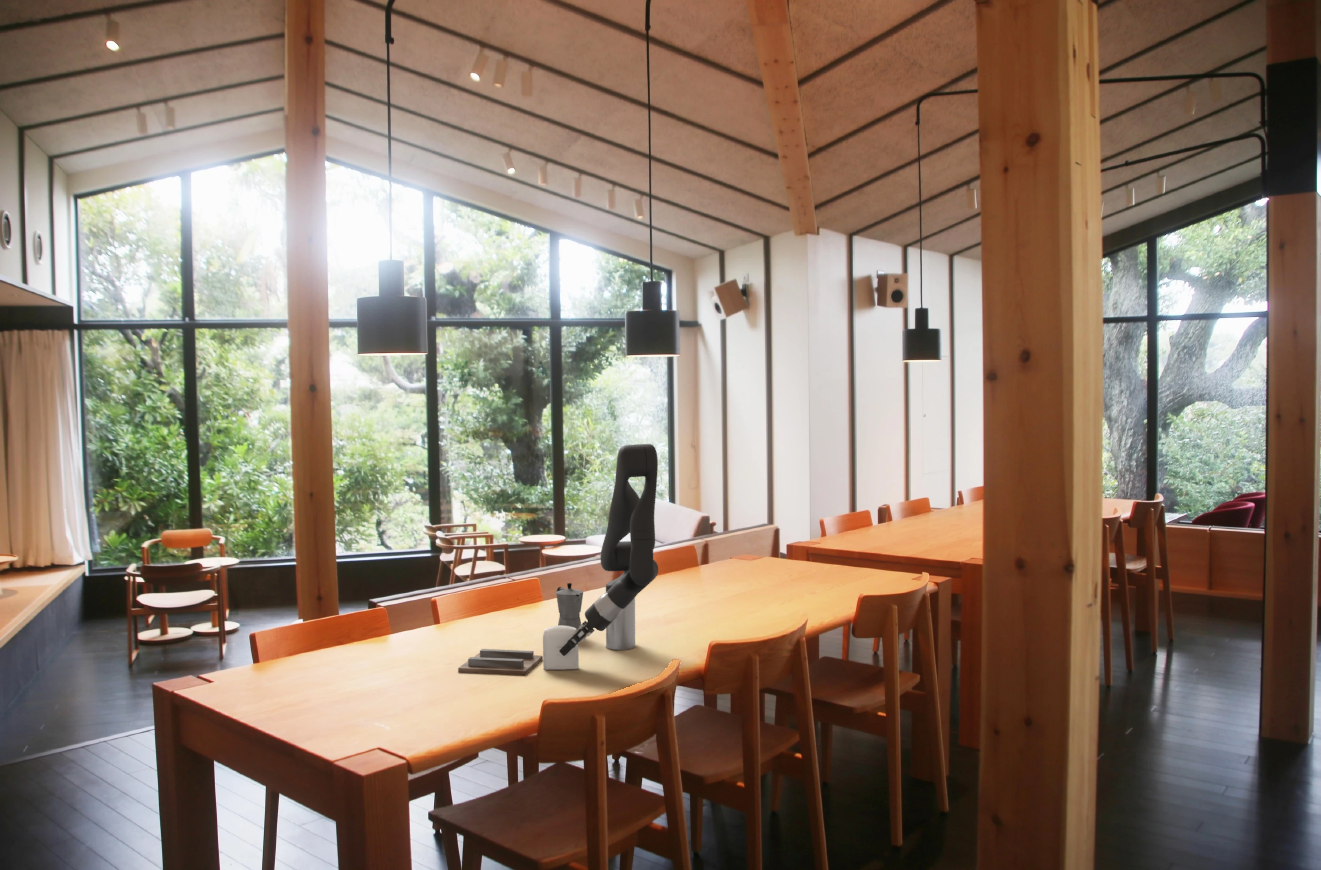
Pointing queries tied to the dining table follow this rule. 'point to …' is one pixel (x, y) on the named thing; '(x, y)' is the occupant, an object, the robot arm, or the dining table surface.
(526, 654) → the cradle
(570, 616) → the coffeepot
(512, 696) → the dining table surface
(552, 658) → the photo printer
